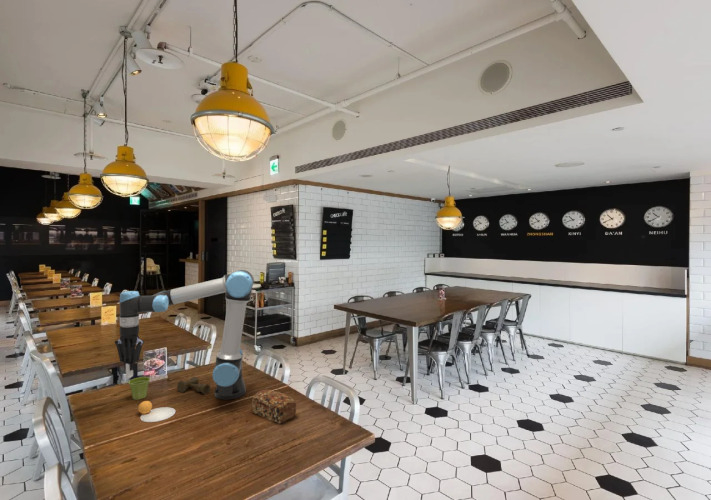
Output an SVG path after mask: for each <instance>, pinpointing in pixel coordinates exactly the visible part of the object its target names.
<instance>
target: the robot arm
mask: <svg viewBox="0 0 711 500" xmlns="http://www.w3.org/2000/svg"><path fill="white" fill-rule="evenodd" d="M254 282H255V279H254V276H253V275H252V273H250V272H249V271H248V270H244V269H240V270H236V271H234V272H231V273H229V274H224V275H223V277H221V278H216V279H211V280H208V281H207V280H206V281H203V282H199V283H194V284H189V285H185V286H181V287H176V288H173V289H168V290H162V291H159V292H157V293H155V294H153V295H140V293H139V291H138V290H136V291H135V290H130V291H129V290H126V291H122V292H121V293H119V303H118V304H119V335H120V336H119V338H118V339H117V340H115V341H114V344H115V346H116V349H117V353H118V354H117V355H118V359H119V362H121V363H123V364H124V366H123V368H124V371H125V379H130V378H132V377H134V370H135V363H137V362H139V360H140V356H141V352H142V346H143V345H144V343H145V341H144V340H141V339H140V336H139V333H140V325H139V324H140V313H161V312H166V311H168V308H169V306H174V305H177V304H181V303H186V302H190V301H193V300H194V301H196V300H198V299H202V298H207V297H211V296H216V295H219V294H224V293H225V300H226V301H227V307H226V313H225V318H224V319H225V320H224V326H223V332H222V333H223V334H222V338H221V346H220V350H219V351H218V353H217V354H216V357H215V365H214V368H213V371H212V380H213V381H214V383H215V384H216V387H215V390H214V397H215V398H216V399H219V400H225V401H226V400H235V399H238V398H241V397H243V396H245V394H246V393H247V392H246V391H247V389H246V384H245V381H244V379H243V356H244V354H243V349H241V343H242V335H243V330H244V329H243V328H244V323H245V316H246V309H247V304H248V303H249V302H250V301H251V297H252V290H253V286H254V284H255V283H254Z"/></svg>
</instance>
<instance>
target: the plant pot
mask: <svg viewBox="0 0 711 500" xmlns="http://www.w3.org/2000/svg"><path fill="white" fill-rule="evenodd" d="M150 380H151V378H150V377H148V376H141V377H136V378H132V379H130V380H129V381H128V384H129V387H130V391H131V397H132V399H133V401H135V400H136V401H137V400H141V399H144V398H146V397H147V395H148V387H149V383H150Z"/></svg>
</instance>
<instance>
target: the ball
mask: <svg viewBox="0 0 711 500" xmlns="http://www.w3.org/2000/svg"><path fill="white" fill-rule="evenodd" d="M137 409H138V412H139V413H140V414H141V415H142V414H146V413H148V412H150V411H151V410H152V409H153V404H152V402H151V401H150V400H144V401H142V402H140V404H139V405H138V407H137Z"/></svg>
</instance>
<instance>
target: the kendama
mask: <svg viewBox="0 0 711 500" xmlns="http://www.w3.org/2000/svg"><path fill="white" fill-rule="evenodd" d="M176 386H177V390H178V392H179V393H185V391H186V390H187V389H188V388H193V389H195V390H196V392H197V393H201V394H202V395H208V393H209V392H210V390H211V386H210V384H208V383H207V384H206V383H205V384H204V383H199V378H198V377H197V376H192V377H191V378H190V379H189V380H187V381H185V380H179V381H178V382H177V385H176Z"/></svg>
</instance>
